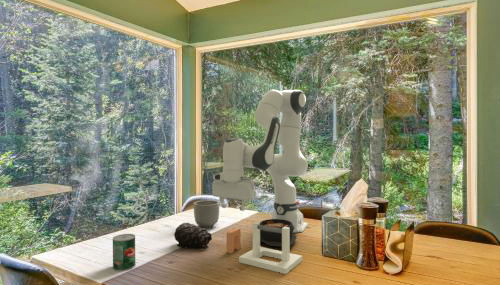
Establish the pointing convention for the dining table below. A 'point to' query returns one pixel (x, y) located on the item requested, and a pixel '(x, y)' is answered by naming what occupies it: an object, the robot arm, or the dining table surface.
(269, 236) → the casserole
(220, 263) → the dining table surface
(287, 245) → the toilet paper holder
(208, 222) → the planter
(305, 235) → the dining table surface
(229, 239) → the orange block
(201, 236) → the pine cone
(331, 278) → the dining table surface
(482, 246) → the dining table surface
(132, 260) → the canned tomato
